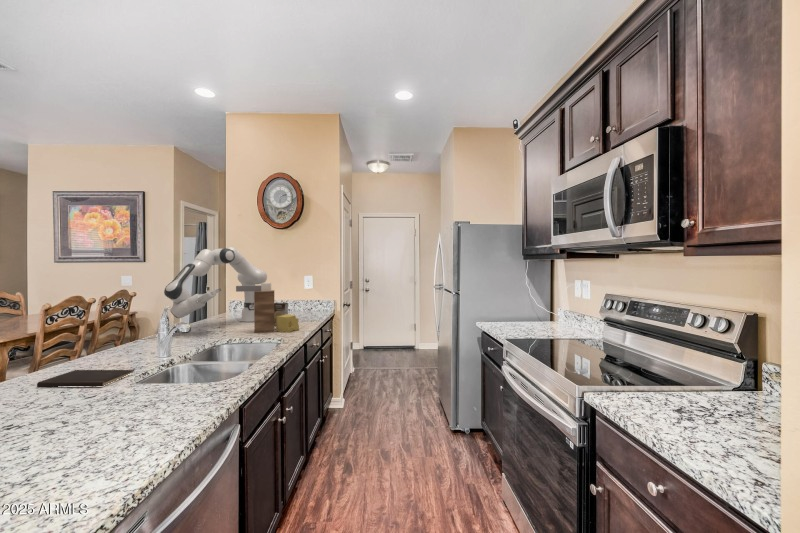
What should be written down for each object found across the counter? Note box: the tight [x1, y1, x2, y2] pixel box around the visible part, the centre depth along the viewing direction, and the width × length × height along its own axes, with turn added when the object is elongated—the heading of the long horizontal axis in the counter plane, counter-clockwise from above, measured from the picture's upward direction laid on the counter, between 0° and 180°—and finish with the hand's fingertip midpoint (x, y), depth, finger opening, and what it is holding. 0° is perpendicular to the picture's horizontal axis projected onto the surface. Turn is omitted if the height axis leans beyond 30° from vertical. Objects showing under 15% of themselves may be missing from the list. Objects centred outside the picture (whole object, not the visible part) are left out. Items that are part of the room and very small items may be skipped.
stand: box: [253, 289, 275, 334], centre depth 246 cm, size 12×13×26 cm
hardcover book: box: [36, 369, 135, 388], centre depth 141 cm, size 16×23×2 cm
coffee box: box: [274, 302, 289, 327], centre depth 266 cm, size 9×6×16 cm
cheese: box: [275, 313, 300, 333], centre depth 247 cm, size 10×11×10 cm
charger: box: [235, 282, 272, 293], centre depth 244 cm, size 6×21×5 cm, turn 108°
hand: (219, 289), depth 238 cm, fingers open, 8 cm apart
